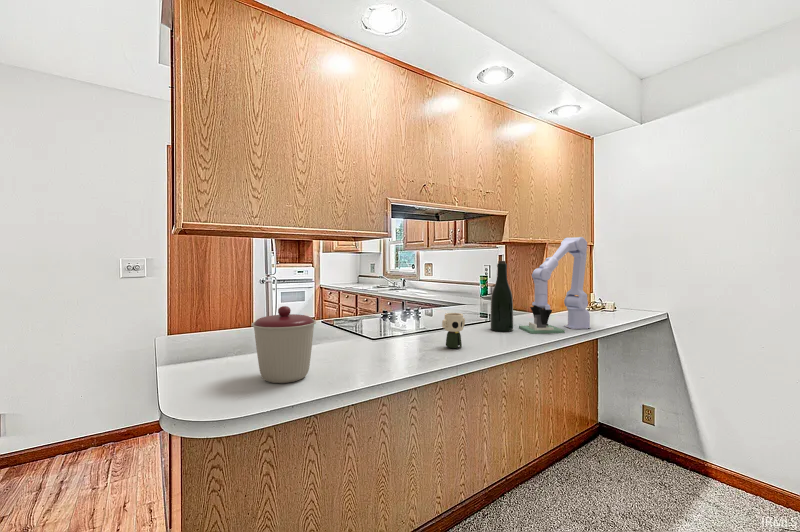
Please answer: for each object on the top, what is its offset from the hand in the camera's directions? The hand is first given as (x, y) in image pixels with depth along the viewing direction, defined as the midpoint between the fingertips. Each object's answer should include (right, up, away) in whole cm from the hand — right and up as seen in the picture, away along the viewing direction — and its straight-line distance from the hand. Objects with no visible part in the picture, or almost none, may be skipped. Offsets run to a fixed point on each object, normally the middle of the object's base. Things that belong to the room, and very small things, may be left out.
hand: (540, 323), depth 191 cm
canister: (-99, -6, -71) cm, 122 cm away
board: (+1, -4, +2) cm, 4 cm away
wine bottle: (-17, -4, +3) cm, 18 cm away
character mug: (-45, -5, -33) cm, 56 cm away
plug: (0, -2, 0) cm, 2 cm away
